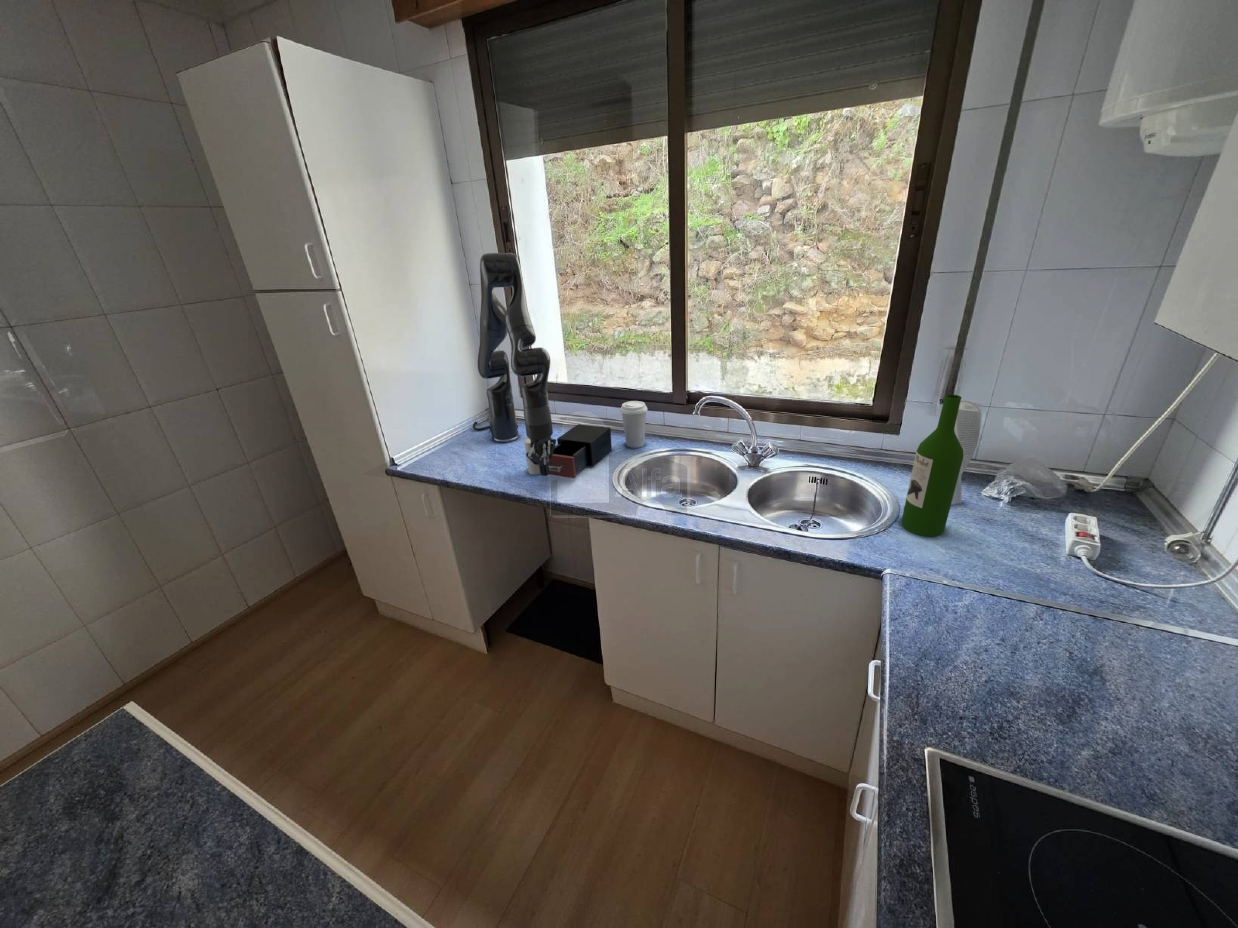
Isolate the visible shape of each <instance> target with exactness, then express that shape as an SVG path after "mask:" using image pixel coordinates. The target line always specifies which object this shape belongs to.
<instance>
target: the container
mask: <svg viewBox="0 0 1238 928" xmlns="http://www.w3.org/2000/svg"><path fill="white" fill-rule="evenodd" d="M523 442H524V449H525V454H526V453H527V452H530V450H531V447H530V443H531V440H530V439H529V438H528V437H527V438H525V439H524V440H523ZM525 456H526V455H525ZM526 464H527V470H528V474H530V475H532V476H535V475H536V476H537V475H541V474H540V468H539V465H535V464H533V463H532V462H531V461H530V459H529V458H528V457H527V456H526Z"/></svg>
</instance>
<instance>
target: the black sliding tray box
mask: <svg viewBox="0 0 1238 928" xmlns="http://www.w3.org/2000/svg"><path fill="white" fill-rule="evenodd" d="M611 433H612V432H611V427H607V426H599V425H590V424H581V423H580V424H579V423H578V424H576V425H575V426H573V427H572V428H571V429H569V430H568V431H566V432H564V433H563V434H561V435H560V436H559V437H557V438H556V444H557V445H558V444H559V443H560V442H562V441H563V442H571V443H579V444H586V445H589V453H590V463H589V464H588V465H586V466H585V467H589V468H593V467H595V466H596V465H597V464H598V463H600V461H602V460H603V459H605V457H606V456H608V455H609V454H610V453H611V452H612V450H613V447H612V434H611Z"/></svg>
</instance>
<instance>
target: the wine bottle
mask: <svg viewBox="0 0 1238 928" xmlns="http://www.w3.org/2000/svg"><path fill="white" fill-rule="evenodd" d="M961 399H962V396H960V395H958V394H945V395H944V399H943V402H942V407H941V411H940V415H939V418H938V422H937V427H936V428H935V429H934V430H933V431H932V432H931V433H930V434H929V435H928V436H927V437H925V438H924V439H923V440H922V441H921V442H920V443H919V445H918V447H917V449H916V452H915V457H914V460H913V465H912V470H911V474H910V479H909V484H908V488H907V494H906V497H905V502H904V507H903V511H902V517H901V520H900V521H901V526H902V527H903V528H904V529H905V530H906V531H907V532H909V533H911V534H914V535H917V536H922V537H929V538H931V537H932V538H933V537H939V536H941V535H942V534H943V533H944V532H945V529H946V525H947V522H948V518H949V514H950V510H951V506H952V505H951V503H952V499H953V495H954V491H955V487H956V483H957V480H958V476H959V472H960V468H961V464H962V460H963V449H962V447H961V444H960V442H959V440H958V438H957V436H956V434H955V431H954V428H955V423H956V419H957V414H958V410H959V405H960V404H961V402H960V401H961Z"/></svg>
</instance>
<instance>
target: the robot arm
mask: <svg viewBox="0 0 1238 928" xmlns="http://www.w3.org/2000/svg"><path fill="white" fill-rule="evenodd" d="M479 283H480V284H479V286H480V309H479V344H478V351H477V356H476V357H477V358H476V366H477V367H476V368H477V372H478V374H479V376H480V377H481V378H482V379H486V380H487V379H496V378H498V379H497V381H496V382H494V383H493V384H492V385H490V386H488V387H487V388H486V398H487V404H488V409H489V415H488V423H489V425H487V426H483V427H476V425H478V421H477V422H476V421H474V422H473V423H472V429H473V430H474V431H477V432H478V431H479V432H480V431H484V430H488V429H489V430H490V433H491V440H492V441H494V442H496V443H509V442H510V443H511V442H514V441H516V440H518V439H519V438H520V434H519V429H518V428H519V425H518V422H517V421H518V420H517V415H516V410H515V402H514V395H513V386H512V378H511V370H512V373H513V374H514V375H516V376H517V377H520V378H524V377H530V376H535V379H533V380H531V381H529V382H527V383H524V384H523V385H522V386H521V389H520V390H521V398H522V405H523V419H524V427H525V435H526V437H527V438H529V439H530V440H531V443H530V447H531V450H530V452H527V453H526V452H525V456H527V457H528V458H529V459H530V461H531V462H532V463H533V464H535V465H539V468H540V474H539V475H541V476H542V477H543V476H544V477H547V476H549V459H550V458H552V456H553V452H554V448H555V446H556V445H557V438H556V439H555V438H552V436H553V434H554V429H553V421H552V412H551V407H550V403H549V395H548V381H549V376H550V375H549V374H550V369H551V356H550V354H549V352H548V350H547V349H546V348H544V347H532V346H533V345H534V344H535V343H536V340H537V336H536V332H535V329H534V325H533V322H532V320H531V317H530V316H531V315H530V313H529V307H528V302H527V295H526V290H525V284H524V278H523V273H522V267H521V263H520V261H519V259H518V257H517V255H516V254H515V253H514V252H513V253H512V252H488V253H483V254H482V255H481V257H480V259H479ZM510 287H511V288H512V296H511V299H510V301H509V303H508V306H507V308H506V306H505V305H504V304H503V303H502V301H500V299H499V298H498V297H497V295H496V294H495V292H494V289H495V288H497V289H498V288H510ZM507 336H508V337H509V341H510V349H511V350H510V360H509V356H508V354H507V352H506V351H505V350H496V349H497V348H498V347H499V346H500V345H501V344H502V343H503V342H504V340H505V339H506V338H507ZM531 347H532V348H531ZM527 457H526V458H527Z"/></svg>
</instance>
